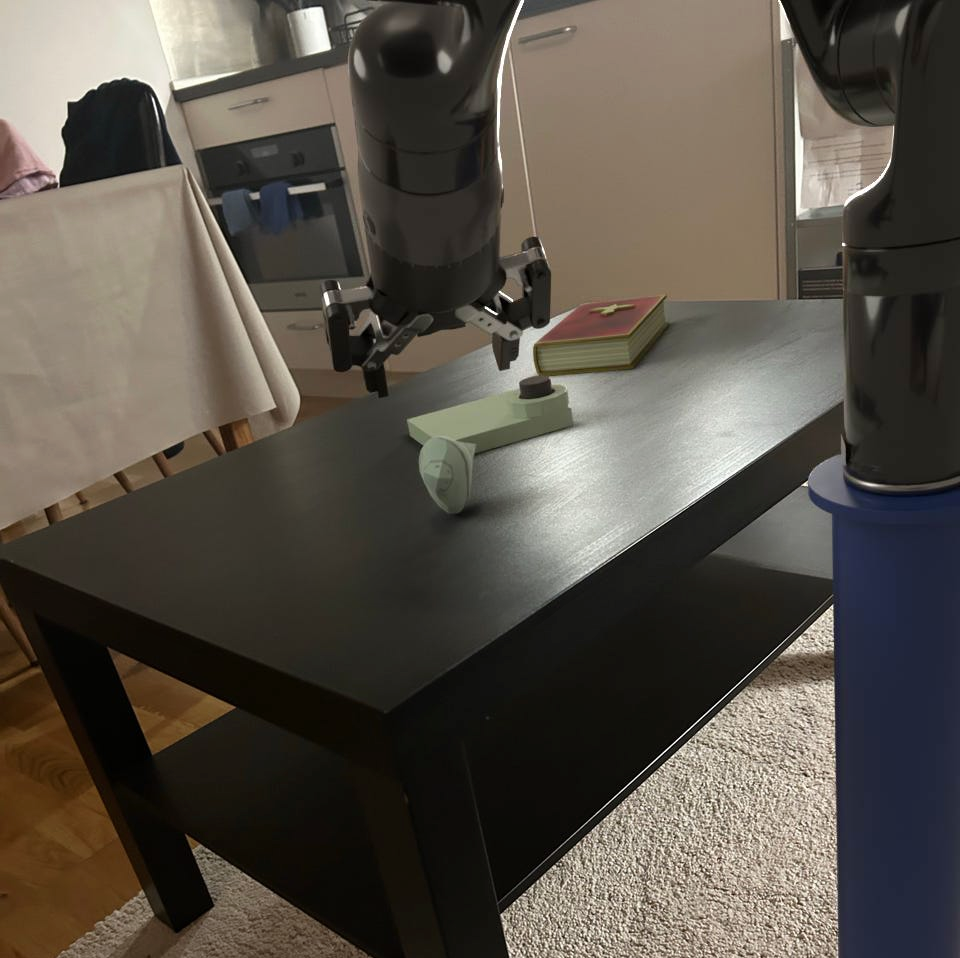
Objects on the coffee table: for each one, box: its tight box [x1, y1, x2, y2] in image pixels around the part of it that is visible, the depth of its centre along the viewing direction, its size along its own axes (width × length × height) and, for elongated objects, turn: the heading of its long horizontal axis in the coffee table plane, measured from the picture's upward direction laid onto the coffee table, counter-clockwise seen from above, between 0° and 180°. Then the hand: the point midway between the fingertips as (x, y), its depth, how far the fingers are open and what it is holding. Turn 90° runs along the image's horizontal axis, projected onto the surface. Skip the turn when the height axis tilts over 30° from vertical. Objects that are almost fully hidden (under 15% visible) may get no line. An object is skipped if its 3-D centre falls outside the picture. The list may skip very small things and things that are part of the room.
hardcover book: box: [532, 293, 670, 377], centre depth 128 cm, size 12×21×4 cm, turn 159°
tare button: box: [518, 375, 553, 399], centre depth 102 cm, size 3×3×2 cm
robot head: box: [418, 436, 476, 515], centre depth 85 cm, size 8×4×7 cm, turn 158°
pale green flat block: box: [406, 384, 574, 455], centre depth 105 cm, size 14×12×4 cm
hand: (440, 373), depth 70 cm, fingers open, 8 cm apart
